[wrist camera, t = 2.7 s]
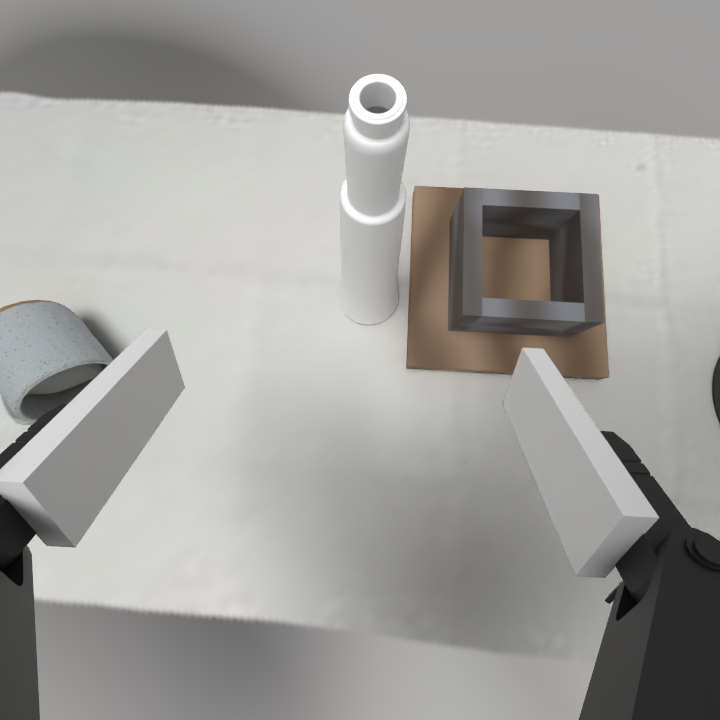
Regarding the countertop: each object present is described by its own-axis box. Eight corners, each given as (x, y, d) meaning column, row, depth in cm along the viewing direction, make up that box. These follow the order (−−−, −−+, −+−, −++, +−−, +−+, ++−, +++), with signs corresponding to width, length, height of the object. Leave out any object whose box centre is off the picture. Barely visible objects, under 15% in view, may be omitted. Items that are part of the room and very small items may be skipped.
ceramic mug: (88, 308, 35) (12, 278, 28) (139, 369, 34) (74, 356, 27) (-1, 381, 34) (-105, 372, 27) (48, 446, 33) (-46, 456, 26)
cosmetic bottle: (391, 331, 35) (439, 184, 13) (330, 317, 35) (279, 149, 13) (405, 273, 36) (471, 47, 14) (345, 260, 36) (321, 17, 14)
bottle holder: (589, 204, 37) (637, 158, 30) (598, 379, 34) (653, 369, 27) (412, 195, 37) (423, 148, 31) (406, 368, 34) (416, 356, 28)
